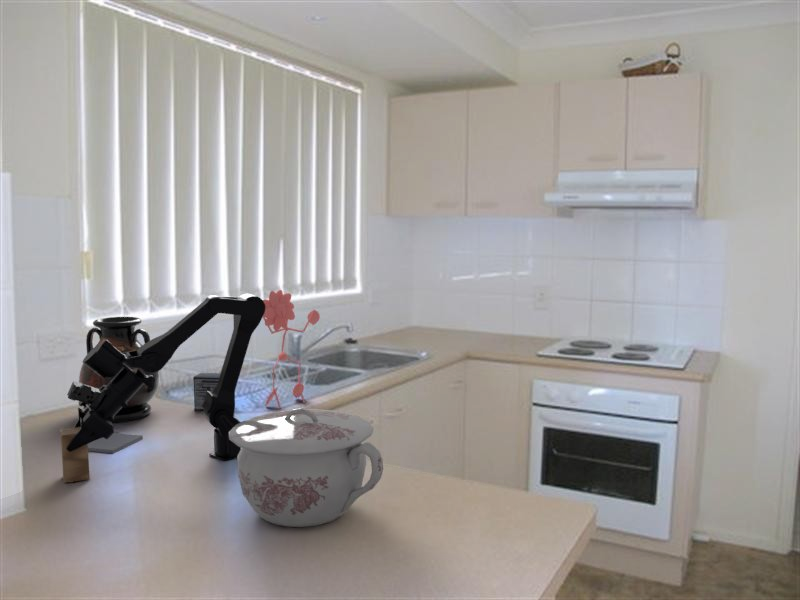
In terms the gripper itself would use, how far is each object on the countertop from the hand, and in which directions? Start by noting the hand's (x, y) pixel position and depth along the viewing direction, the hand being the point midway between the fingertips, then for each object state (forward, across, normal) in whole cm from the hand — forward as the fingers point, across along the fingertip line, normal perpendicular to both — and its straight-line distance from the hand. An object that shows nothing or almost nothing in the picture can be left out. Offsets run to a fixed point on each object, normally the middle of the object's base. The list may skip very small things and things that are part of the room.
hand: (67, 446), depth 153 cm
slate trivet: (-2, -22, +12) cm, 26 cm away
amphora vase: (-6, -48, +17) cm, 52 cm away
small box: (-24, -43, +35) cm, 60 cm away
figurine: (-38, -42, +49) cm, 75 cm away
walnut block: (+4, 0, +6) cm, 7 cm away
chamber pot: (-22, +40, +33) cm, 57 cm away
